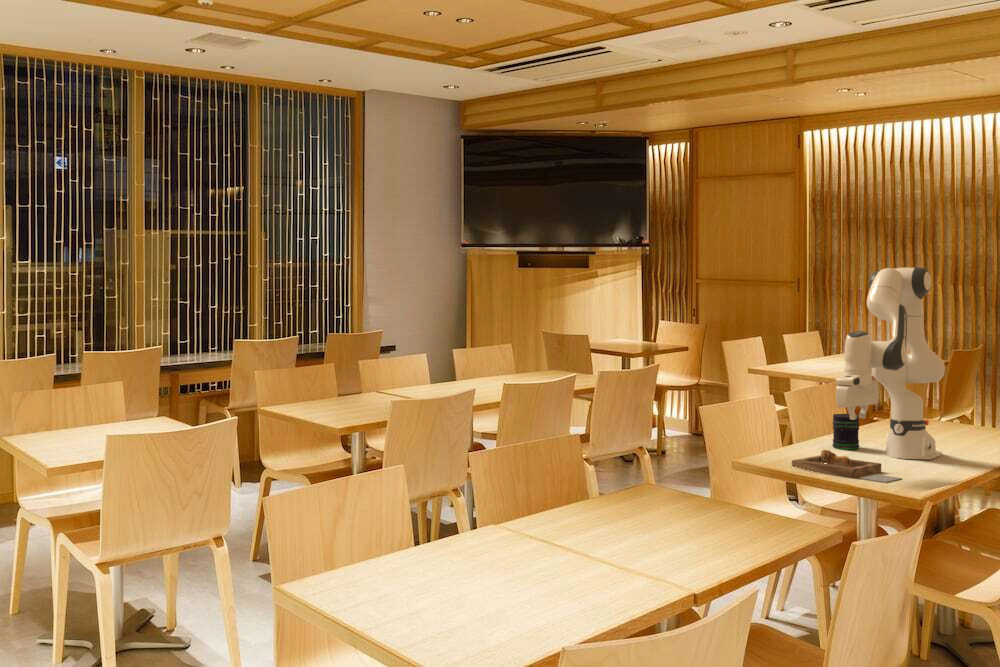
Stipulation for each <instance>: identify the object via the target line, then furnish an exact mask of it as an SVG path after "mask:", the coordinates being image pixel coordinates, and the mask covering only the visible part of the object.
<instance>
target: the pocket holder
mask: <svg viewBox="0 0 1000 667" xmlns="http://www.w3.org/2000/svg"><path fill="white" fill-rule="evenodd" d="M849 459H850V458H849ZM850 461H851V464H852V468H851V465H850V463H848V465H849V466H850V467H845V466H844V464H843V463H842V464H839V465H837V464H834V465H830V464H828V463H827V464H824V463H826V462H825V461H824V460H823V459H822V458H821V454H820V455H816V456H815V455H814V456H808V457H802V458H798V459H792V460H791V467H792V466H793V467H797V468H801V469H805V470H804V471H806V470H809V471H808V472H810V471H813V472H812V473H815V472H819V473H818V474H822V473H823V474H822V475H827V476H828V475H829V476H835V477H840V478H841V477H843V478H848V479H855V478H858V477H863V476H868V475H872V474H879V473H882V463H879V462H874V461H873V462H872V461H865V460H860V459H859V460H858V459H852V458H851V459H850ZM821 462H822V463H821ZM797 468H796V469H797ZM801 469H800V470H801Z"/></svg>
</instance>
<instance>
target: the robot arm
mask: <svg viewBox="0 0 1000 667" xmlns="http://www.w3.org/2000/svg"><path fill="white" fill-rule="evenodd" d="M931 286H932V276H931V273H930V271H928V269H927V268H924V267H919V266H917V267H916V266H915V267H896V268H892V267H891V268H890V267H887V268H883V269H879V270H876V271H873V272H872V273H871V275H870V276H869V279H868V293H867V298H866V307H867V309H868V311H869V312H870V313H871V315H873V316H874V317H875V318H878V319H879V320H882V321H885V322H888V323H890V324H891V335H892V336H891V339H889V340H881V341H880V340H871V339H872V338H871V335H870V332H866V331H856V330H855V331H851V332H849V333H847V334H846V337H845V341H844V343H845V344H844V361H845V366H844V370H843V371H844V372H843V373H842V374H841V375H839V376H838V377H836V378H835V385H837V386H836V388H835V403H836V406H837V407H838V408H847V413H848V414H850V419H851V420H855V419H857V415H859V419H866V417H867V416H866V415H867V412H868V409H869V406H871V405H872V406H873V405H877V404H878V403H879V389H878V388H879V387H878V384H877V383H876V381H878V382H879V383H880V384H881V385H882V386H883V387H884V389H885V390H886V391H887V394H888V396H889V400H890V409H891V410H890V411H891V413H890V414H891V415H890V416H891V418H890V419H889V428H890V431H888V432H887V433H886V434H887V437H886V446H885V447H886V448H885V450H883V453H884V454H886V455H887V457H889V456H890V458H896V459H902V460H903V459H905V460H932V459H933V460H934V459H935V458H937V457H940V456H942V455H943V452H942V451H938V450H936V448H937V447H936V440H935V438H934V437H933V436H932V435H931V434H930V432H928V431H927V430H926V426H929V424H930V420H928V419H924V401H923V399H922V396H920V395H918V394H917V393H915V392H913V391H911V390H909V389H908V388H907V387H906V384H908V383H909V384H929V383H930V384H931V383H937V382H940V381H941V380H942V379H943V377H944V375H945V372H946V365H945V362H944V361H943V359H942V358H941V357H940V356H939V355H938V354H936V353H935V352H934V351H933V350H932V349H931V347H930V346H929V345H928V343H927V340H926V336H925V326H924V324H925V322H924V321H925V318H924V317H925V316H924V315H925V313H924V302H923V298H924V297H925V296H926V295H927V294H928V293H929V292H930V290H931ZM907 348H908V350H909V353H908V352H907ZM856 407H859V408H860V411H859V413H858V414H856V412H855V411H856Z"/></svg>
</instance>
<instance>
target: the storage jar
mask: <svg viewBox="0 0 1000 667" xmlns="http://www.w3.org/2000/svg"><path fill="white" fill-rule="evenodd" d="M832 417H833V418H832V429H833V438H832V447H834V449H837V450H841V451H857V450H859V448H860V444H859V443H860V440H859V430H860V422H859V421H860V418H859V414H857V419H855V420H851V419H850V414H849V413H836V414H835V413H834V414H833V415H832Z"/></svg>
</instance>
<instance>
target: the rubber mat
mask: <svg viewBox="0 0 1000 667" xmlns="http://www.w3.org/2000/svg"><path fill="white" fill-rule="evenodd" d="M857 479H858V480H863V481H871V482H877V483H882V484H887V483H888V484H889V483H891V482H897V481H900V480H901V481H902V480H903V478H902V477H896V476H890V475H883V474H879V473H875V474H870V475H865V476H861V477H857Z"/></svg>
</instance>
